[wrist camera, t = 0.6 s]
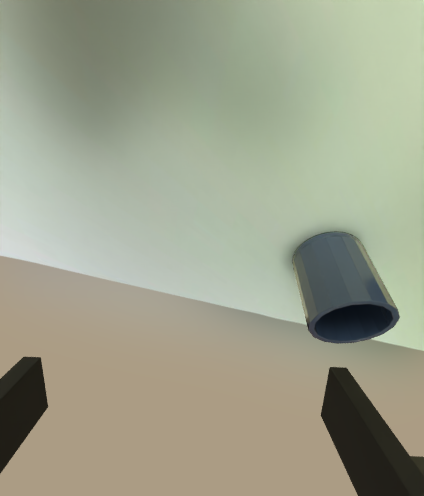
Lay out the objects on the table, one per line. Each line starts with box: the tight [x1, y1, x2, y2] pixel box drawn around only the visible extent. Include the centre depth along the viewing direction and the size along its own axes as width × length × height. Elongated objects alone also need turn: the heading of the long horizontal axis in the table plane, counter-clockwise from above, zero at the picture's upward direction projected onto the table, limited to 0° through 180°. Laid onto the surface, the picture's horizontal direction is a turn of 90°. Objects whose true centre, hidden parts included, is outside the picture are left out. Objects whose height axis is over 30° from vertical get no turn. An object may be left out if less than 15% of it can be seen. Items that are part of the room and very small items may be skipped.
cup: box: [293, 232, 400, 343], centre depth 31 cm, size 9×9×10 cm
